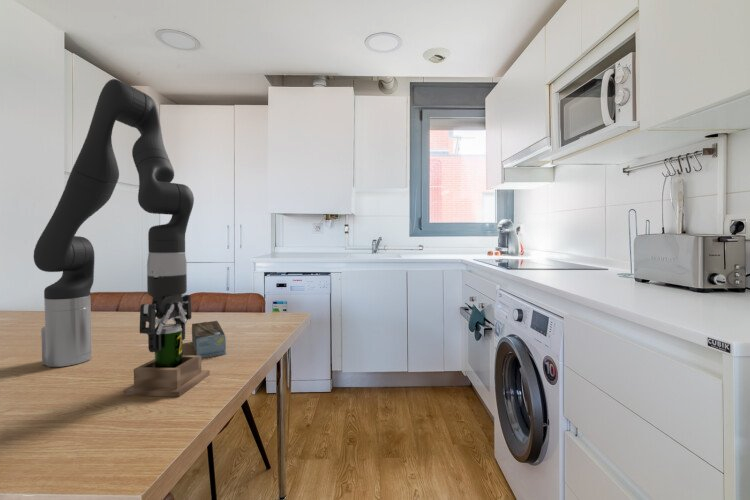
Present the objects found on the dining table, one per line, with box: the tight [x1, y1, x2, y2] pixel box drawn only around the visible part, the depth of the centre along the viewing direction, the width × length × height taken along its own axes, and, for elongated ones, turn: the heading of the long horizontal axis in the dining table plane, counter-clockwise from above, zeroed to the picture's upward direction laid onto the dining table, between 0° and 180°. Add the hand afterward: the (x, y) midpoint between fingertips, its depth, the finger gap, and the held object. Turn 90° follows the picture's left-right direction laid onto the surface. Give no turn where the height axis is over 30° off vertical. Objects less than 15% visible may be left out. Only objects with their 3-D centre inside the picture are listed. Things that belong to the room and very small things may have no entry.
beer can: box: [154, 323, 184, 368], centre depth 79 cm, size 5×5×12 cm
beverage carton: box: [191, 320, 227, 359], centre depth 106 cm, size 8×19×7 cm, turn 30°
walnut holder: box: [122, 354, 211, 398], centre depth 79 cm, size 12×12×5 cm
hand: (167, 345), depth 79 cm, fingers open, 8 cm apart
